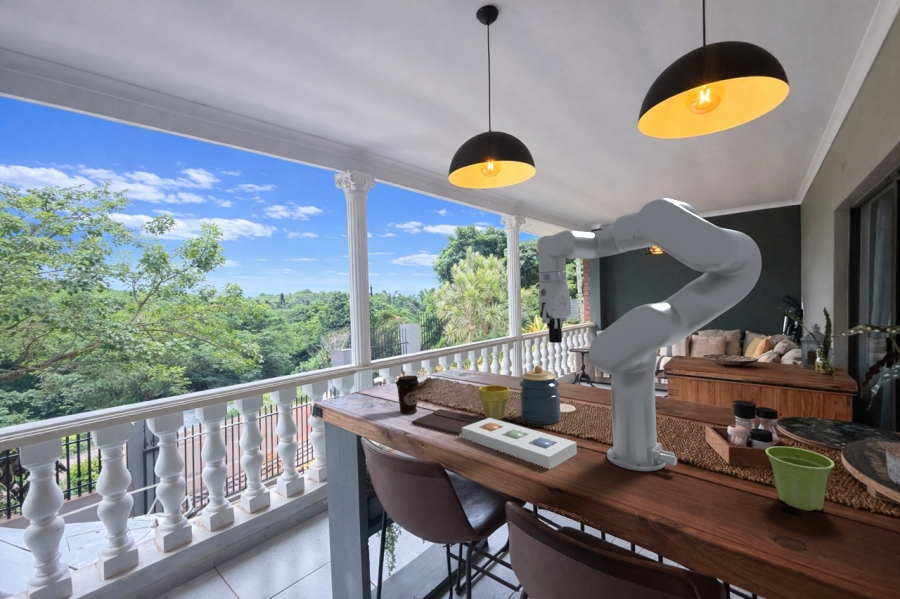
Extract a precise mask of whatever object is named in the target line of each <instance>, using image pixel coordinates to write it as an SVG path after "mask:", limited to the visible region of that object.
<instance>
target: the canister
mask: <svg viewBox="0 0 900 599" xmlns="http://www.w3.org/2000/svg"><path fill="white" fill-rule="evenodd" d="M521 378H522V380H520V381H519V382H518V383H519V386H520V392H519V397H520V417H521V420H522V421H524V422H525V421H526V422H525V423H529V424H532V425H543V426H544V425H552V424H556V423H558V422H560V421H561V417H562V411H561V400H560V399H561V398H560V397H561V396H560V395H561V392H559V387H560V382H559V381H558V380H557V375H556V374H555V373H553V372H552V371H549V370H543V366H541V365H535V367H534V369H533V370H528V371H526V372H525V373H524V374H522V375H521Z"/></svg>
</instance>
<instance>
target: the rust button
mask: <svg viewBox="0 0 900 599" xmlns="http://www.w3.org/2000/svg"><path fill="white" fill-rule="evenodd" d="M483 429H485V430H488V431H491V432H492V431H494V430H497V429H499V425H498V424H495V423H487V424H484V425H483Z"/></svg>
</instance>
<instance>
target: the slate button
mask: <svg viewBox="0 0 900 599" xmlns="http://www.w3.org/2000/svg"><path fill="white" fill-rule="evenodd" d="M533 445H535V446H538V447H541V448H545V449H546V448H548V447H550V446H552V441H551V440H549V439H544V438H539V439H535V440H534V441H533Z"/></svg>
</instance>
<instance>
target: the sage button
mask: <svg viewBox="0 0 900 599" xmlns="http://www.w3.org/2000/svg"><path fill="white" fill-rule="evenodd" d="M506 436H507V437H510V438H513V439H516V440H517V439H519V438H521V437H524V433H523V432H522V431H518V430H511V431H508V432H506Z"/></svg>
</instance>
